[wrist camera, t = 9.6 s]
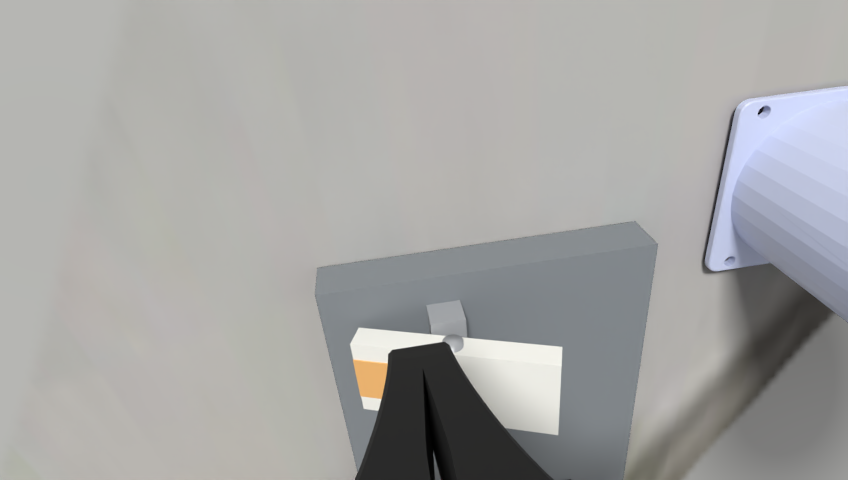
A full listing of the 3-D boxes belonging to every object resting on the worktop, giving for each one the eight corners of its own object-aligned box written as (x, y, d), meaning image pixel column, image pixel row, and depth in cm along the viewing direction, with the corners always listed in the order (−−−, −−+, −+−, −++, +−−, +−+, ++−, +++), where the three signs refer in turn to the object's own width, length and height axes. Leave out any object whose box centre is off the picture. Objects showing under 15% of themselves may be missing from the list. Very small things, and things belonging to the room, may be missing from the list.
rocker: (562, 342, 20) (561, 362, 19) (559, 418, 22) (558, 439, 21) (358, 323, 22) (348, 340, 21) (372, 394, 24) (364, 413, 23)
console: (635, 221, 24) (674, 260, 21) (602, 490, 33) (626, 543, 30) (317, 267, 23) (313, 315, 20) (377, 530, 32) (381, 588, 29)
